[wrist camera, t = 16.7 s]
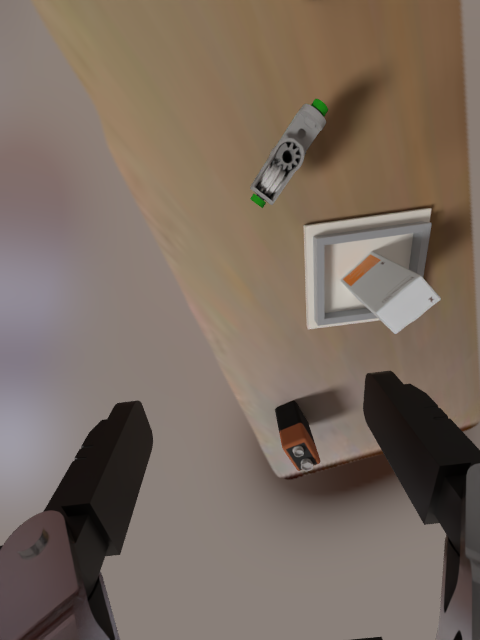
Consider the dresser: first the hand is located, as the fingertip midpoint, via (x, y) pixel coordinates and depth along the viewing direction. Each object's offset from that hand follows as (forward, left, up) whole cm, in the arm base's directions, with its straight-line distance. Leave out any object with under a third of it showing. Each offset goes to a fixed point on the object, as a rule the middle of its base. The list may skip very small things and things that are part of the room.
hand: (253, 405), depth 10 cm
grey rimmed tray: (+7, +18, -33) cm, 38 cm away
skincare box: (+7, +18, -32) cm, 38 cm away
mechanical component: (-9, +6, -33) cm, 35 cm away
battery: (+34, +6, -33) cm, 48 cm away
